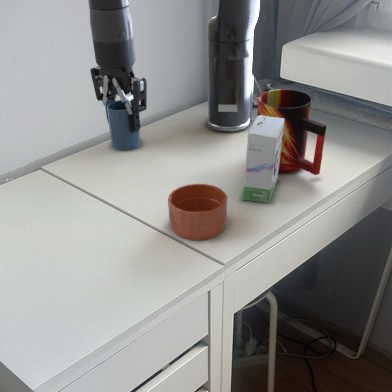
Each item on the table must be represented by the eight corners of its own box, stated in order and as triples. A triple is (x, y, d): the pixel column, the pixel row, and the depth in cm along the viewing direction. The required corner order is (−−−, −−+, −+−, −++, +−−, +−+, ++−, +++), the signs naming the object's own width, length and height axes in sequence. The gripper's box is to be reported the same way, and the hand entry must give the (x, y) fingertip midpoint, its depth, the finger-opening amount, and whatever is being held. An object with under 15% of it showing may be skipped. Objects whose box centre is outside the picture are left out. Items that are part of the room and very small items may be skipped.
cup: (127, 136, 110) (122, 97, 104) (146, 143, 107) (142, 104, 102) (106, 145, 107) (100, 106, 101) (125, 153, 104) (120, 113, 98)
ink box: (251, 178, 95) (255, 113, 87) (278, 181, 94) (285, 116, 86) (241, 200, 89) (245, 133, 81) (270, 204, 88) (277, 136, 80)
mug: (317, 181, 94) (327, 115, 85) (247, 168, 98) (250, 104, 89) (330, 160, 100) (341, 96, 91) (264, 149, 104) (268, 86, 96)
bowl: (196, 205, 89) (195, 178, 85) (237, 223, 84) (239, 195, 81) (158, 227, 84) (155, 199, 80) (200, 247, 79) (200, 219, 76)
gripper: (154, 36, 91) (161, 130, 103) (102, 24, 98) (114, 114, 110) (123, 46, 87) (134, 142, 99) (71, 33, 94) (87, 124, 106)
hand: (123, 127), depth 104 cm, fingers closed on cup, 6 cm apart
